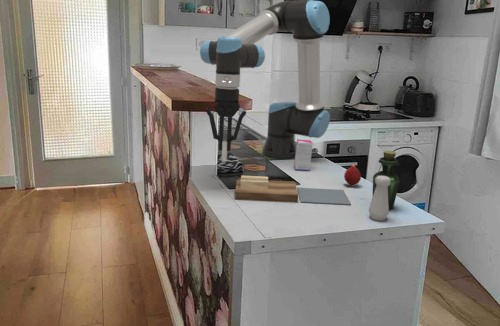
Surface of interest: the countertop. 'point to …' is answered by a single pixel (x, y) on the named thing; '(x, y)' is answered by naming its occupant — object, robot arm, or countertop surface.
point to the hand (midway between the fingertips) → (224, 160)
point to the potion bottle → (387, 166)
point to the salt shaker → (380, 199)
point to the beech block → (254, 182)
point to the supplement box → (303, 155)
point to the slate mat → (323, 196)
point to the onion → (352, 175)
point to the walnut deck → (269, 192)
